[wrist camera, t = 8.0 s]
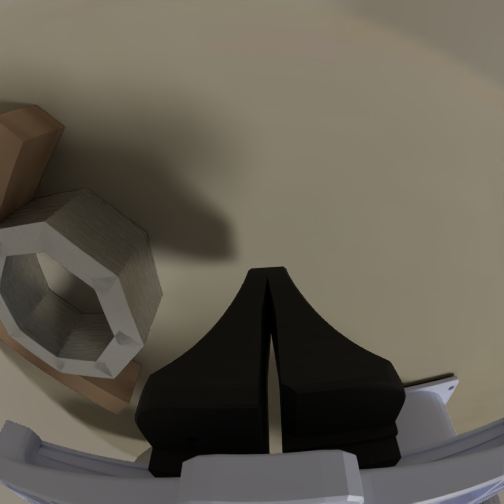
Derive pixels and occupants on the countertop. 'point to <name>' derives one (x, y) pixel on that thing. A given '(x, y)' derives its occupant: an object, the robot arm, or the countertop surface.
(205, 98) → the countertop surface
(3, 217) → the vee stop
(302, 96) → the countertop surface
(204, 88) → the countertop surface
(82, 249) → the ring
